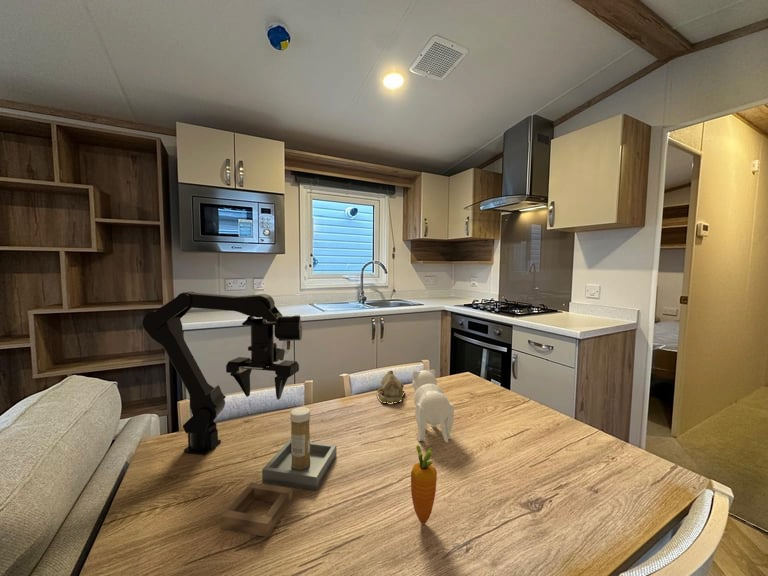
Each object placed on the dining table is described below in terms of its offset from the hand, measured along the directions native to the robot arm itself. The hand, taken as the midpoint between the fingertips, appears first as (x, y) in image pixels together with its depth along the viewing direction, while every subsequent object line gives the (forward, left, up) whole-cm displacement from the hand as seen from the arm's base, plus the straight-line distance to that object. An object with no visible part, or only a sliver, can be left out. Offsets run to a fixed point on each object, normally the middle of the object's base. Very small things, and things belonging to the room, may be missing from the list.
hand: (263, 397), depth 88 cm
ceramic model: (+29, +39, -13) cm, 51 cm away
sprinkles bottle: (+15, -8, -12) cm, 21 cm away
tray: (+15, -8, -13) cm, 21 cm away
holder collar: (+13, -23, -13) cm, 29 cm away
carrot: (+45, -19, -13) cm, 51 cm away
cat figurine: (+45, +15, -13) cm, 49 cm away
